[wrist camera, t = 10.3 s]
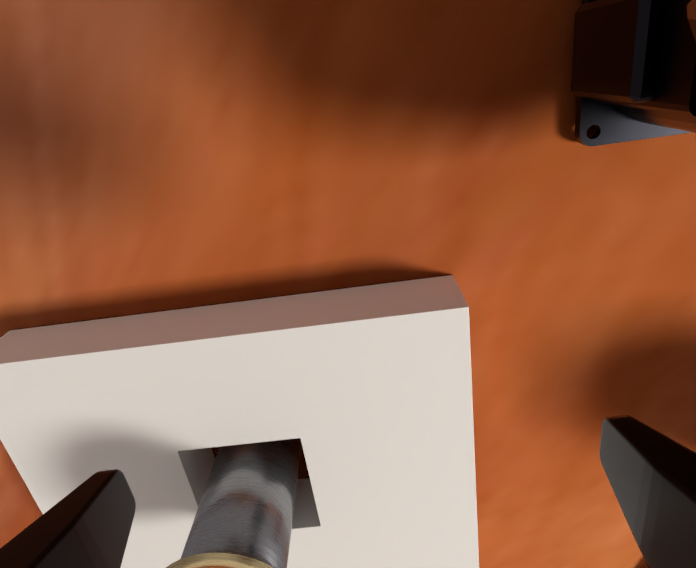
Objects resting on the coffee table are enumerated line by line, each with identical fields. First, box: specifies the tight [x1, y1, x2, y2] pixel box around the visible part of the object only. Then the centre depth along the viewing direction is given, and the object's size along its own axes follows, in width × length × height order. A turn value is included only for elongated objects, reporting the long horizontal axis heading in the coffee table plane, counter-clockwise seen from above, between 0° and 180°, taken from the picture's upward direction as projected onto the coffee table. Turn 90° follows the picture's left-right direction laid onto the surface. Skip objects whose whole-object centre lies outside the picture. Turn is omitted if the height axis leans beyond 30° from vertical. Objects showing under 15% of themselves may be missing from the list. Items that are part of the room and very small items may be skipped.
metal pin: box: [166, 438, 302, 568], centre depth 20 cm, size 5×5×9 cm
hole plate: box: [0, 275, 479, 568], centre depth 23 cm, size 20×16×3 cm
